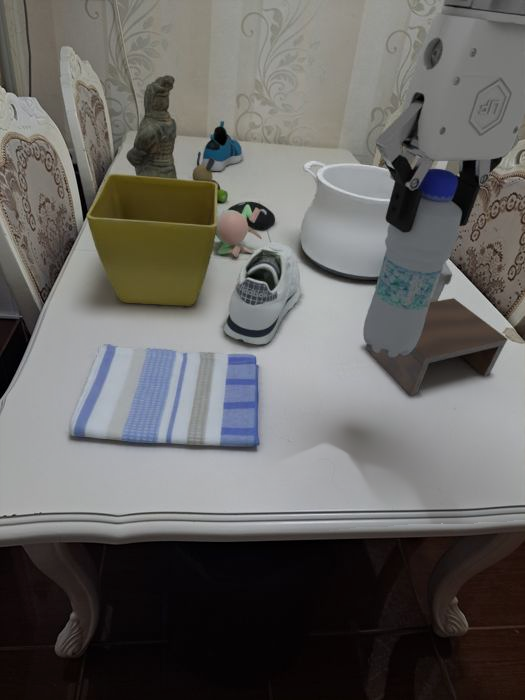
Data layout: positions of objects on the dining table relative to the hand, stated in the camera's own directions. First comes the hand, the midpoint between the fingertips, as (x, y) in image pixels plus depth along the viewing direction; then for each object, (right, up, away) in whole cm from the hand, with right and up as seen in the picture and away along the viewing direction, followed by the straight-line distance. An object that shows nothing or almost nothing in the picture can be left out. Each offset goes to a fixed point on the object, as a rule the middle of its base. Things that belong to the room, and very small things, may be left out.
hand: (426, 222), depth 47 cm
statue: (-40, +16, +63) cm, 77 cm away
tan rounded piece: (-31, +26, +78) cm, 88 cm away
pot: (+4, +7, +59) cm, 60 cm away
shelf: (+11, -14, +32) cm, 36 cm away
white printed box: (+11, -4, +45) cm, 46 cm away
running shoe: (-15, -4, +41) cm, 44 cm away
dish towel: (-28, -19, +19) cm, 39 cm away
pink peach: (-22, +9, +57) cm, 62 cm away
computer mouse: (-19, +18, +70) cm, 75 cm away
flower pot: (-34, -1, +42) cm, 54 cm away
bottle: (-1, -12, +9) cm, 15 cm away
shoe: (-28, +46, +104) cm, 117 cm away
